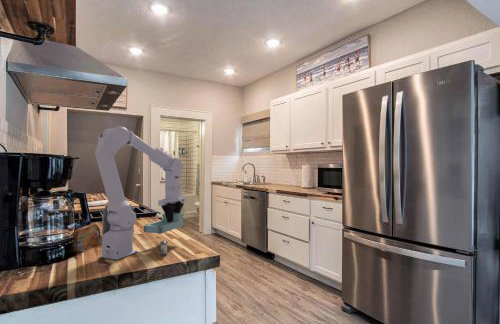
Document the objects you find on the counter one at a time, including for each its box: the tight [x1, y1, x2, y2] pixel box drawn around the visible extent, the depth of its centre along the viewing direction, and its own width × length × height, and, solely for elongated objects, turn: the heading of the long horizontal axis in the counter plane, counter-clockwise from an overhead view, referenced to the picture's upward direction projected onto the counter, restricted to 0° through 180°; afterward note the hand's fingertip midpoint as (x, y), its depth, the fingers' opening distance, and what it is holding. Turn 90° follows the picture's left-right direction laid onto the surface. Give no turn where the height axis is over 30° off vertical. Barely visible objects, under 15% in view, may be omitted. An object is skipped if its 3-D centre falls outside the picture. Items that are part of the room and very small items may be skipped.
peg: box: [159, 240, 169, 257], centre depth 99 cm, size 2×2×5 cm
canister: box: [101, 199, 135, 236], centre depth 128 cm, size 13×13×18 cm
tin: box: [71, 224, 101, 253], centre depth 107 cm, size 15×3×8 cm, turn 179°
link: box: [143, 212, 184, 235], centre depth 111 cm, size 13×8×5 cm, turn 156°
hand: (172, 221), depth 116 cm, fingers closed on link, 3 cm apart
